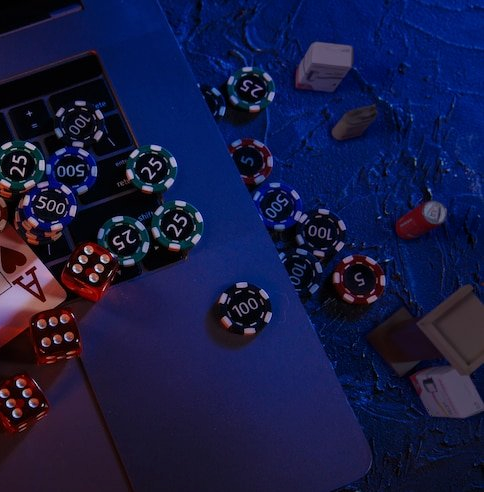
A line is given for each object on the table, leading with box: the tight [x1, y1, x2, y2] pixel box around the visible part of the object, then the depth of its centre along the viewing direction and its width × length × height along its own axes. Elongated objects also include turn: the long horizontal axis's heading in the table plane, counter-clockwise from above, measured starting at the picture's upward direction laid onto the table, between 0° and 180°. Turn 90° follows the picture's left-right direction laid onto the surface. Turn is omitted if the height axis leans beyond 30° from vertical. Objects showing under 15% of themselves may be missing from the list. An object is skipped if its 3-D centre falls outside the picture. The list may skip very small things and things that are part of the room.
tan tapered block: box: [331, 103, 379, 141], centre depth 129 cm, size 7×4×10 cm, turn 105°
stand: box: [364, 306, 446, 378], centre depth 112 cm, size 10×10×23 cm
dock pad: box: [416, 283, 484, 376], centre depth 100 cm, size 10×10×2 cm
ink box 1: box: [295, 41, 355, 93], centre depth 131 cm, size 9×5×12 cm, turn 83°
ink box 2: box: [408, 364, 484, 419], centre depth 115 cm, size 9×5×12 cm, turn 22°
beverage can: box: [395, 200, 448, 241], centre depth 123 cm, size 5×5×12 cm
